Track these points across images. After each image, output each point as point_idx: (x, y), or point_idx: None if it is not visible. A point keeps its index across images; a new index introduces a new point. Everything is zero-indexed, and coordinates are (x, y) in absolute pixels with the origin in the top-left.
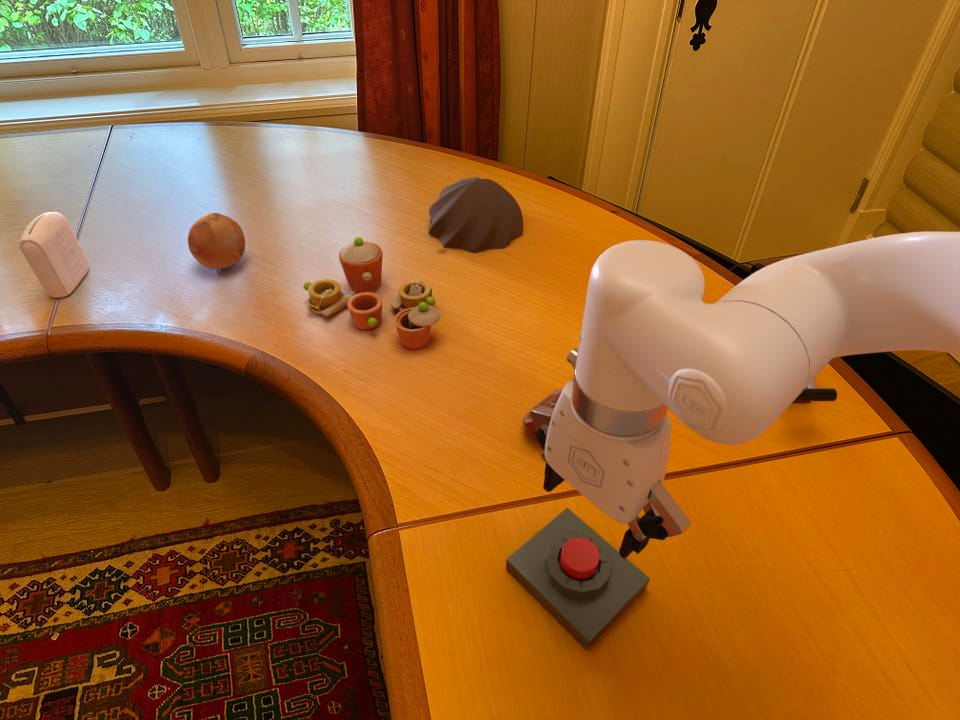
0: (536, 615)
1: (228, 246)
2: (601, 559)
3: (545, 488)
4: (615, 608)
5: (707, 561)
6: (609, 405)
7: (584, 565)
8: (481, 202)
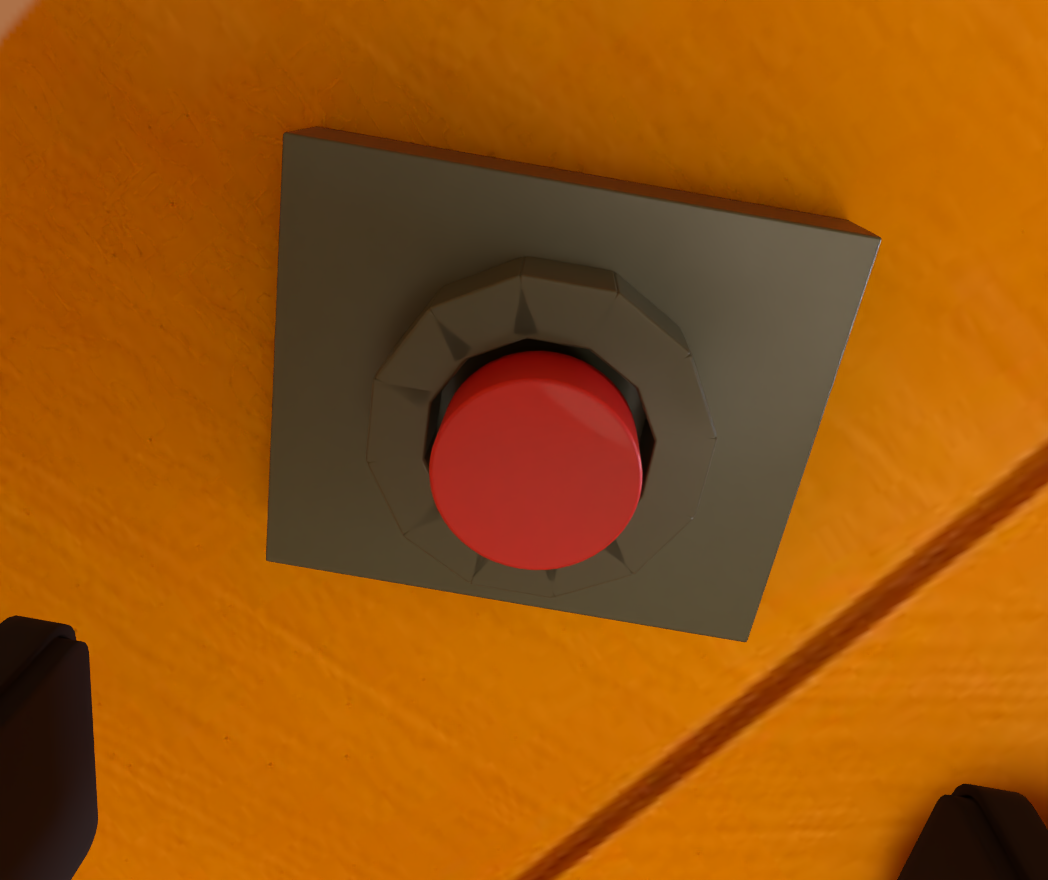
0: (593, 115)
1: None
2: None
3: (1011, 816)
4: (291, 357)
5: (194, 722)
6: None
7: (480, 436)
8: None
